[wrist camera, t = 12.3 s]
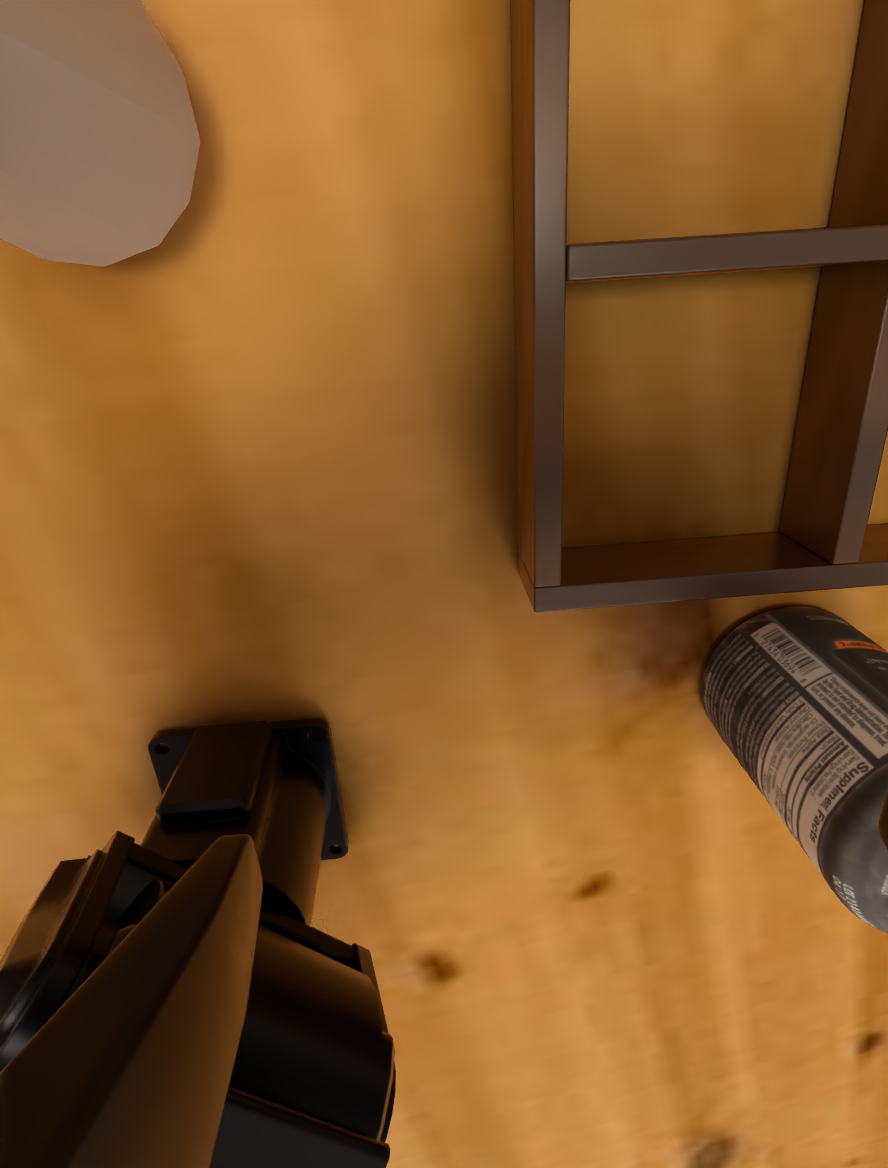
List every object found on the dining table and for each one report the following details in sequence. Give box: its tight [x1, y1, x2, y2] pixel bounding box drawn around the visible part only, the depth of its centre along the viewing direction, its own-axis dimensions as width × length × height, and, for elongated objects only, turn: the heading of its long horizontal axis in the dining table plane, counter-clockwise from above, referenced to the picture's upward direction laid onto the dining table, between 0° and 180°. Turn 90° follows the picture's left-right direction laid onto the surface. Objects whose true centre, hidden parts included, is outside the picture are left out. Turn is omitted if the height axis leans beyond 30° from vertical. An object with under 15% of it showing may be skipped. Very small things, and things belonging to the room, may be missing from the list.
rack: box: [511, 0, 888, 612], centre depth 17 cm, size 18×18×3 cm
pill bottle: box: [701, 606, 888, 933], centre depth 19 cm, size 6×6×11 cm
